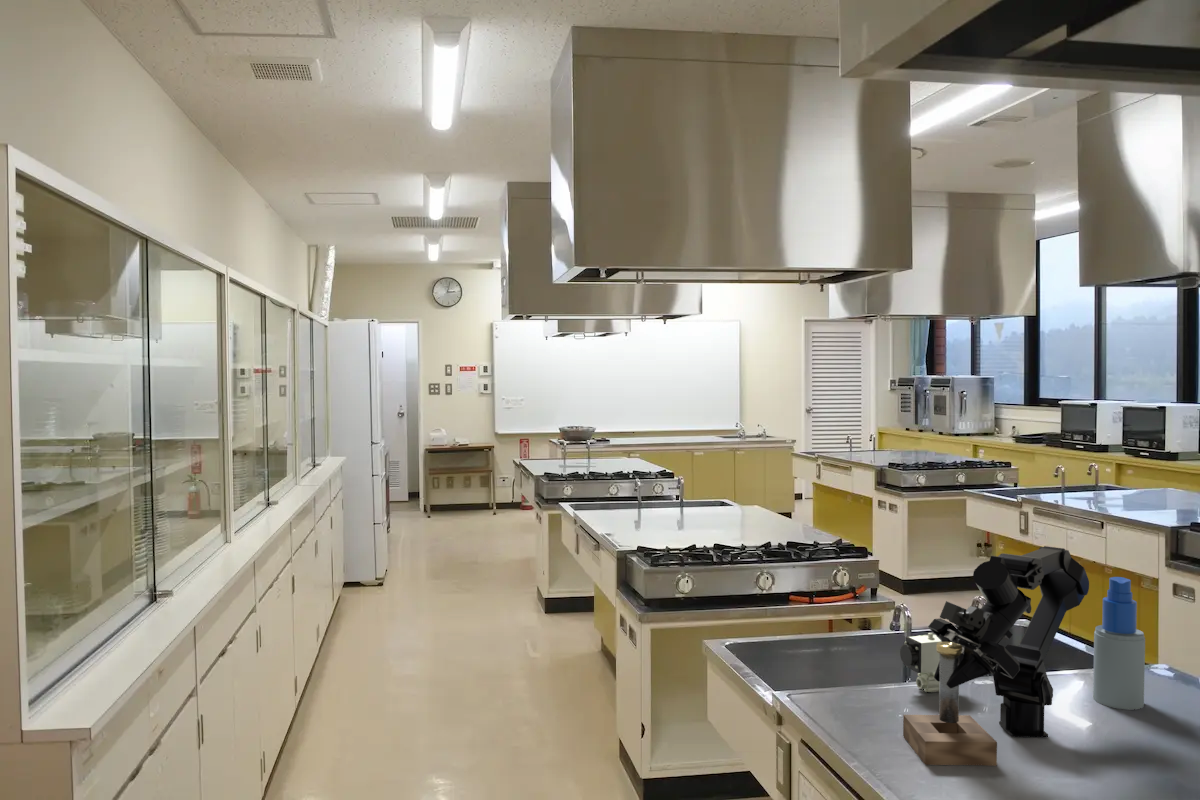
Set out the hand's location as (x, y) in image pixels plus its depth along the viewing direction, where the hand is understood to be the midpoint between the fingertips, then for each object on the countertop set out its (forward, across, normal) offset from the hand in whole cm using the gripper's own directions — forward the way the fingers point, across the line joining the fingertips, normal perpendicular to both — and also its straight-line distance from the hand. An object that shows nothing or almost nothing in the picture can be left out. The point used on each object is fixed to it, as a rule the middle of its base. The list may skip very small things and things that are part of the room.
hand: (942, 683), depth 158 cm
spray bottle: (-26, -13, +44) cm, 52 cm away
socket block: (+8, 0, +9) cm, 12 cm away
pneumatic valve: (-2, -28, +20) cm, 35 cm away
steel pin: (+4, 0, +6) cm, 7 cm away
